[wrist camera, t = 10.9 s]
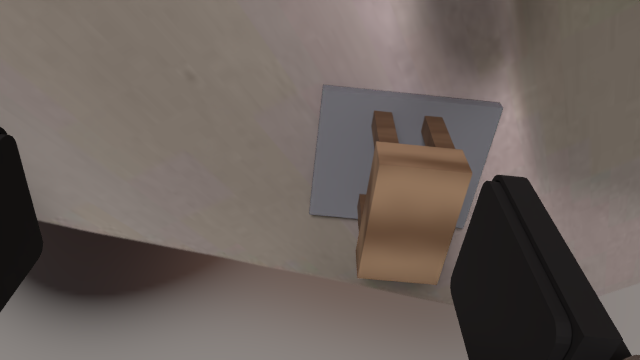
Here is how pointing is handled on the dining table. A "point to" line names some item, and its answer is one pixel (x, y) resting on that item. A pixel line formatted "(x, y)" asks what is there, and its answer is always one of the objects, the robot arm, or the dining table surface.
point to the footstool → (410, 203)
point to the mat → (408, 114)
